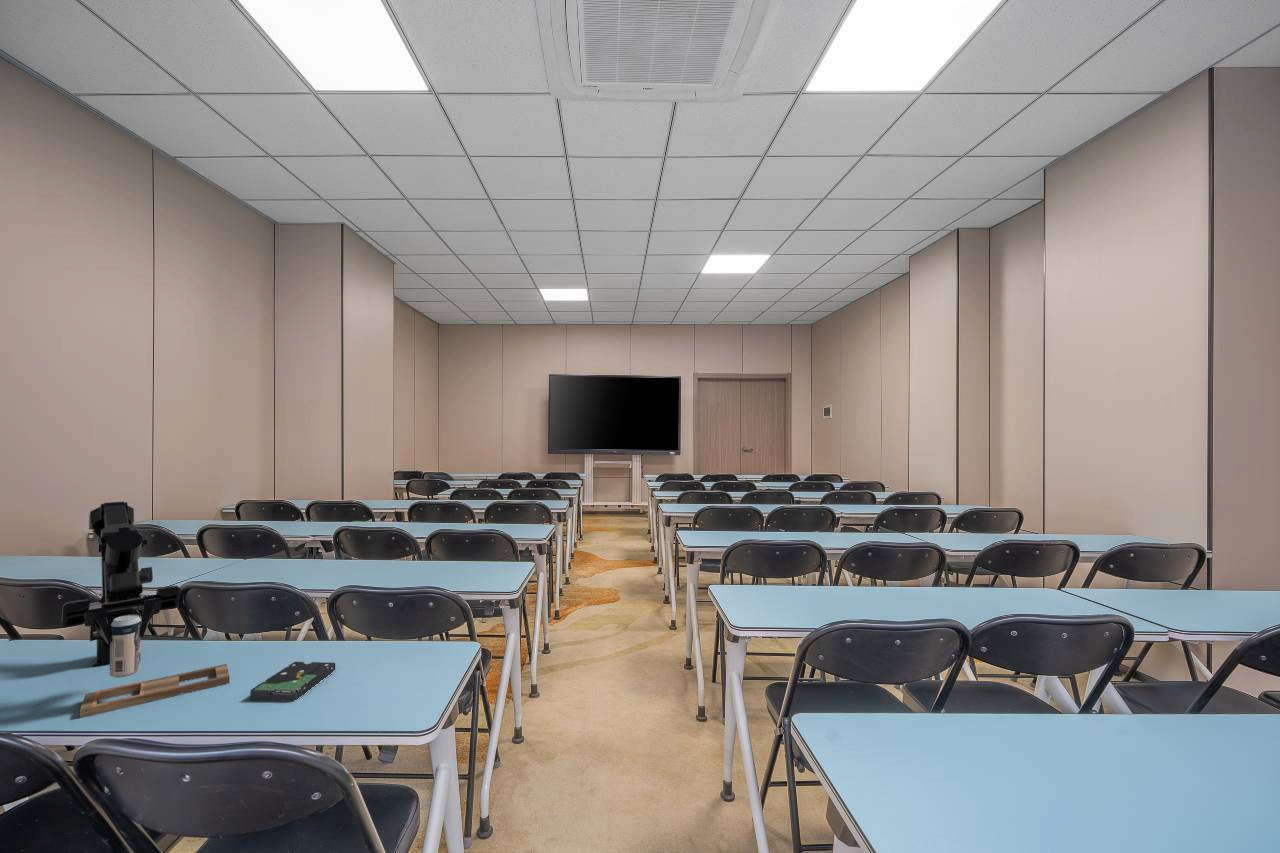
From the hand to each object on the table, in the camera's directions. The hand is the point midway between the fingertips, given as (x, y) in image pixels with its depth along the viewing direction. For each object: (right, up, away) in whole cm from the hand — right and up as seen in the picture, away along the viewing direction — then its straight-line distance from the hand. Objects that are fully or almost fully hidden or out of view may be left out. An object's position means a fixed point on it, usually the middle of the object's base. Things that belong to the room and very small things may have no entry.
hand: (126, 639), depth 116 cm
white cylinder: (-1, -8, +1) cm, 8 cm away
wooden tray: (+3, -13, +4) cm, 14 cm away
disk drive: (+31, -14, +8) cm, 35 cm away
